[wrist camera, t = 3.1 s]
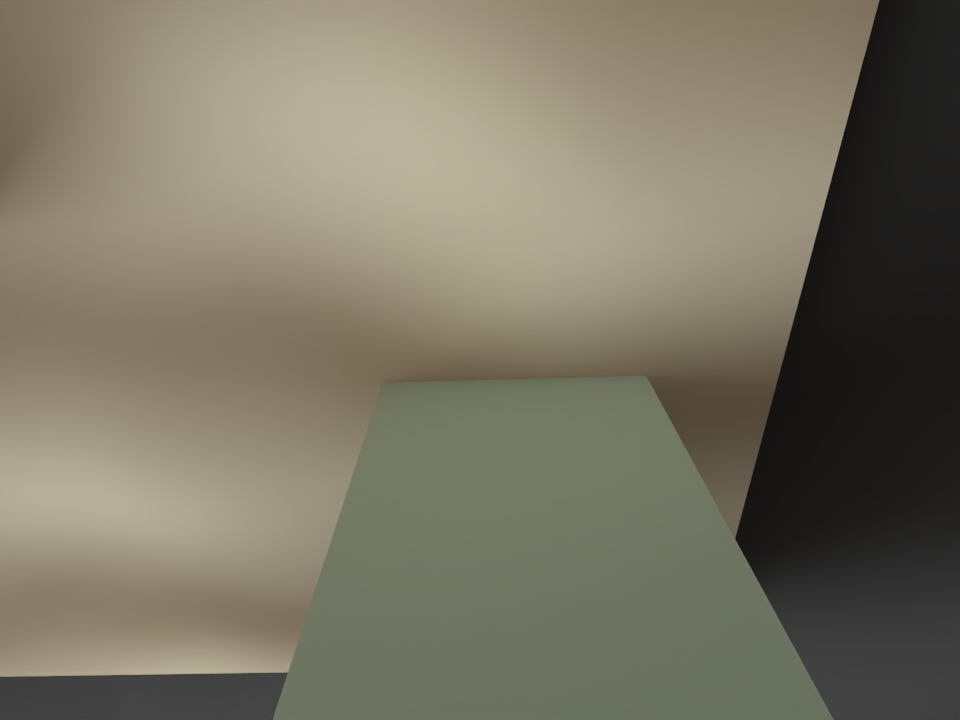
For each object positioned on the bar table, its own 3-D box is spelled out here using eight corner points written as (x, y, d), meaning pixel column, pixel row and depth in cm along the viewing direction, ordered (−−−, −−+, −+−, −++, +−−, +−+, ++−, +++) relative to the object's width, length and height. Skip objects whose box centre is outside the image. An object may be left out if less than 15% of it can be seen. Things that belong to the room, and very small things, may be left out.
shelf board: (678, 604, 13) (729, 743, 10) (-97, 618, 13) (-244, 755, 10) (885, -359, 6) (1249, -750, 3) (-838, -269, 6) (-1896, -544, 3)
